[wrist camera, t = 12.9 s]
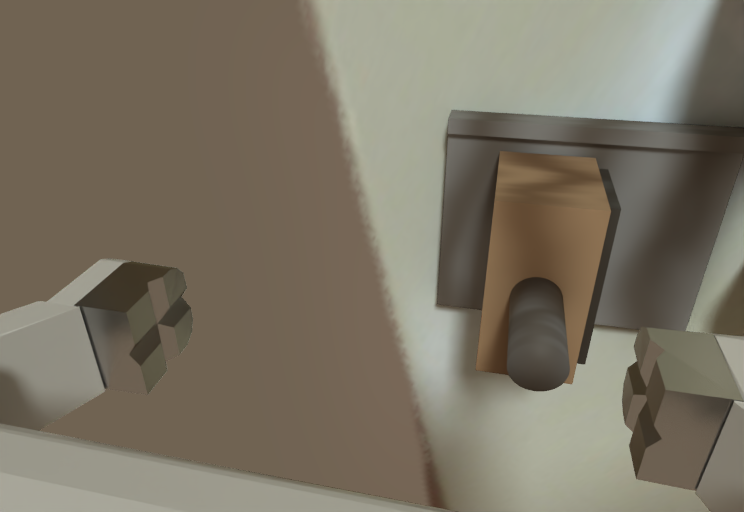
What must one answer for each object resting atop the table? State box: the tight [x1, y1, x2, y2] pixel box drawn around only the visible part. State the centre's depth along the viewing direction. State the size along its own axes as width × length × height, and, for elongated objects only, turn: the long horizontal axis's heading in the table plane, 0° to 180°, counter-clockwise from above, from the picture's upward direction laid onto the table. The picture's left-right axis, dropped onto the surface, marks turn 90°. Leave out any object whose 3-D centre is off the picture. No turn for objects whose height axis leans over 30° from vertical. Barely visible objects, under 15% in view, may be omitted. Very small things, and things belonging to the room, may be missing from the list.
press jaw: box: [476, 151, 621, 391], centre depth 35 cm, size 7×12×14 cm, turn 0°
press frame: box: [437, 110, 744, 331], centre depth 36 cm, size 34×15×10 cm, turn 90°
